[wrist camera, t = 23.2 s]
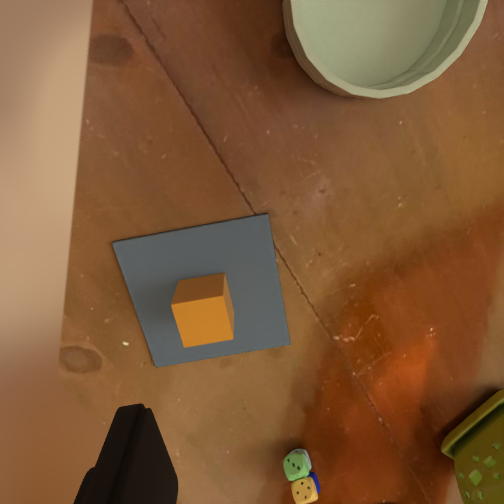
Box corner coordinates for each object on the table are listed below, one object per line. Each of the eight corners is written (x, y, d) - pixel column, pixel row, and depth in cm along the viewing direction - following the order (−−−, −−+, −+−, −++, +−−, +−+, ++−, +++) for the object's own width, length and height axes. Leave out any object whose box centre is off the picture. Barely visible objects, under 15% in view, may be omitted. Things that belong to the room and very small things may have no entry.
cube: (189, 319, 41) (183, 348, 36) (178, 280, 39) (170, 304, 34) (234, 312, 41) (233, 339, 36) (224, 272, 39) (223, 295, 34)
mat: (156, 365, 43) (155, 367, 43) (112, 241, 37) (111, 242, 37) (290, 342, 43) (290, 344, 43) (267, 212, 37) (268, 213, 36)
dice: (317, 471, 51) (327, 520, 46) (299, 477, 52) (307, 526, 46) (297, 433, 49) (306, 480, 43) (279, 439, 49) (284, 486, 43)
